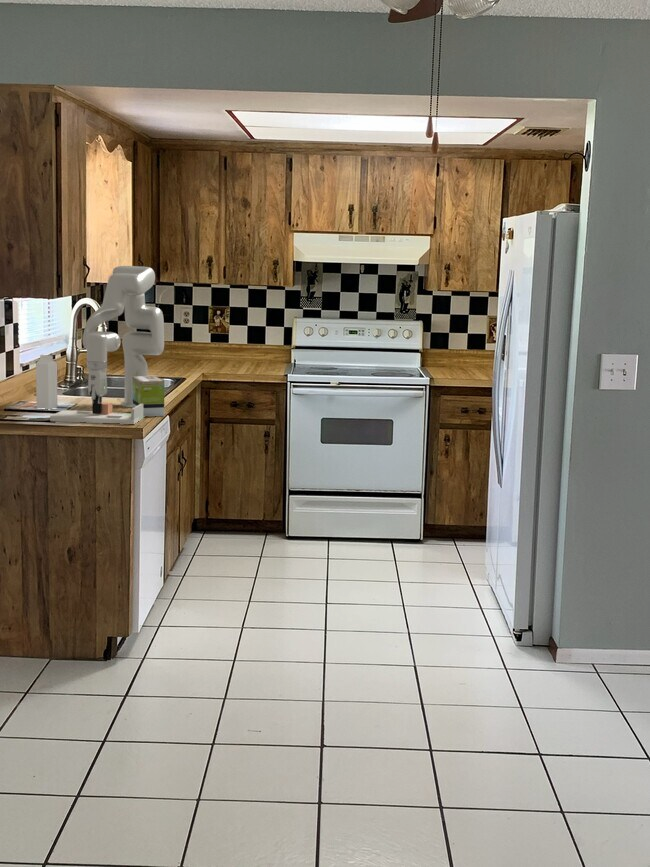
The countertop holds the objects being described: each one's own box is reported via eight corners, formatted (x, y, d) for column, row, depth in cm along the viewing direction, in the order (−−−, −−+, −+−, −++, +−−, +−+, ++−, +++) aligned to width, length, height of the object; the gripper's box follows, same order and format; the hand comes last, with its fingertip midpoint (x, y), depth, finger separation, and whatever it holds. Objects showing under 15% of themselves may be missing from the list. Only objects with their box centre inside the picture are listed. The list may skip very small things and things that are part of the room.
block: (100, 412, 373) (99, 402, 372) (112, 412, 373) (112, 402, 372) (95, 413, 368) (95, 403, 368) (108, 414, 368) (108, 404, 367)
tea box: (131, 411, 391) (131, 375, 388) (155, 411, 395) (156, 375, 392) (140, 417, 377) (140, 380, 374) (165, 416, 381) (165, 380, 379)
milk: (45, 407, 392) (44, 354, 389) (57, 408, 390) (57, 355, 387) (36, 409, 387) (35, 355, 383) (48, 410, 385) (48, 356, 381)
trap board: (63, 415, 375) (62, 400, 374) (143, 418, 373) (143, 403, 372) (50, 421, 360) (50, 405, 359) (133, 424, 359) (133, 409, 358)
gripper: (101, 368, 355) (101, 416, 358) (112, 364, 370) (112, 411, 373) (81, 367, 355) (81, 415, 358) (92, 363, 370) (93, 410, 373)
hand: (97, 413), depth 366 cm, fingers closed
